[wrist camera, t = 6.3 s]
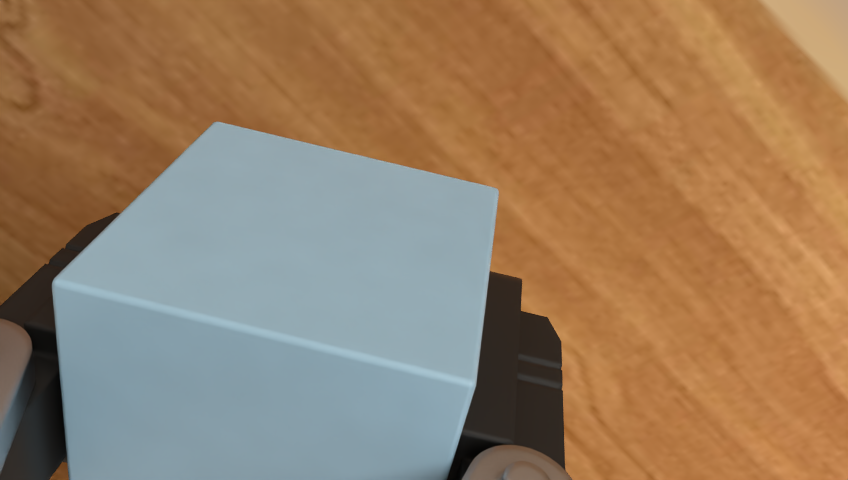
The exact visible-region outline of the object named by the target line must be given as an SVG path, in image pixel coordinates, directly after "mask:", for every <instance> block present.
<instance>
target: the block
mask: <svg viewBox="0 0 848 480" xmlns="http://www.w3.org/2000/svg"><path fill="white" fill-rule="evenodd" d="M498 196H499V192H498V189H496V188H494V187H490V186H485V185H481V184H477V183H473V182H469V181H465V180H460V179H456V178H452V177H448V176H444V175H439V174H435V173H431V172H427V171H423V170H418V169H414V168H410V167H406V166H402V165H398V164H393V163H389V162H385V161H381V160H377V159H372V158H368V157H364V156H360V155H356V154H351V153H347V152H343V151H339V150H335V149H331V148H326V147H322V146H318V145H314V144H310V143H305V142H301V141H297V140H293V139H289V138H284V137H280V136H276V135H272V134H268V133H264V132H259V131H255V130H251V129H247V128H243V127H238V126H234V125H230V124H226V123H222V122H214V123H213V124H212V125H211V126H210V127H209V128H208V129H207V130H206V131H205V132H204V133H203V134H202V135H201V136H199V137H198V138H197V139H196V140H195V141H194V142H193V143H192V144H191V145H190V146H189V147H188V148H187V149H186V150H185V151H184V152H183V153H182V154H181V155H180V156H179V157H178V158H177V159H176V160H175V161H174V162H173V163H172V164H171V165H170V166H169V167H168V168H167V169H166V170H165V171H164V172H163V173H162V174H161V175H160V176H158V177H157V178H156V179H155V180H154V181H153V182H152V183H151V184H150V185H149V186H148V187H147V188H146V189H145V190H144V191H143V192H142V193H141V194H140V195H139V196H138V197H137V198H136V199H135V200H134V201H133V202H132V203H131V204H130V205H129V206H128V207H127V208H126V209H125V210H124V211H123V212H122V213H121V214H120V215H119V216H117V217H116V218H115V219H114V220H113V221H112V222H111V223H110V224H109V225H108V226H107V227H106V228H105V229H104V230H103V231H102V232H101V233H100V234H99V235H98V236H97V237H96V238H95V239H94V240H93V241H92V242H91V243H90V244H89V245H88V246H87V247H86V248H85V249H84V250H83V251H82V252H81V253H80V254H79V255H78V256H76V257H75V258H74V259H73V260H72V261H71V262H70V263H69V264H68V265H67V266H66V267H65V268H64V269H63V270H62V271H61V272H60V273H59V274H58V275H57V276H56V277H55V278H54V280H53V282H52V294H53V306H54V317H55V328H56V339H57V351H58V362H59V373H60V384H61V396H62V407H63V418H64V429H65V441H66V452H67V463H68V474H69V480H447V478H448V475H449V471H450V468H451V465H452V462H453V459H454V455H455V452H456V449H457V446H458V442H459V439H460V436H461V433H462V429H463V426H464V423H465V420H466V417H467V413H468V410H469V407H470V404H471V400H472V397H473V394H474V391H475V387H476V382H477V374H478V365H479V357H480V349H481V340H482V332H483V323H484V315H485V306H486V298H487V289H488V281H489V272H490V264H491V256H492V247H493V239H494V230H495V222H496V213H497V205H498Z"/></svg>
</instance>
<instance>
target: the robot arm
mask: <svg viewBox="0 0 848 480" xmlns="http://www.w3.org/2000/svg"><path fill="white" fill-rule="evenodd" d="M119 215H120V214H119V213H114V214H112V215H110V216H108V217H105V218H103V219H101V220H98V221H96V222H94V223H91V224H89V225H87V226H85V227H84V228H83V229H82V230H81V231H80V232H79V233H78V234H77V235H76V236H75V237H74V238H73V239H71V240H70V241H69V242H68V243H67V244H66V248H65V249H64V248H62V249H61V250H60V251H59V252H58V253H56V254H55V255H54V256H53V257H52V258H51V259H50V262H49V264H45V265H44V266H43V267H41V268H40V269H39V270H38V271H37V272H36V273H35V274H34V275H33V276H32V277H31V278H30V279H29V280H28V281H26V282H25V283H24V284H23V285H22V286H21V287H20V288H19V289H18V290H17V291H16V292H15V293H14V294H12V295H11V296H10V297H9V298H8V299H7V300H6V301H5V302H4V303H3V304H2V305H1V306H0V480H49V479H50V478H51V476H52V475H53V473H54V472H55V471H56V469H57V468H58V467H59V465H60V464H61V462H66V463H67V452H66V441H65V429H64V418H63V407H62V396H61V384H60V373H59V362H58V351H57V339H56V328H55V317H54V306H53V294H52V282H53V280H54V278H55V277H56V276H57V275H58V274H59V273H60V272H61V271H62V270H63V269H64V268H65V267H66V266H67V265H68V264H69V263H70V262H71V261H72V260H73V259H74V258H75V257H76V256H78V255H79V254H80V253H81V252H82V251H83V250H84V249H85V248H86V247H87V246H88V245H89V244H90V243H91V242H92V241H93V240H94V239H95V238H96V237H97V236H98V235H99V234H100V233H101V232H102V231H103V230H104V229H105V228H106V227H107V226H108V225H109V224H110V223H111V222H112V221H113V220H114V219H115V218H116V217H117V216H119ZM521 292H522V279H520V278H516V277H512V276H508V275H504V274H499V273H495V272H491V271H490V272H489V281H488V289H487V298H486V306H485V315H484V323H483V332H482V340H481V349H480V357H479V365H478V374H477V382H476V387H475V391H474V394H473V397H472V400H471V404H470V407H469V410H468V413H467V417H466V420H465V423H464V426H463V429H462V433H461V436H460V439H459V442H458V446H457V449H456V452H455V455H454V459H453V462H452V465H451V468H450V471H449V475H448V478H447V480H572V478H571V477H570V476H569V475H568V473H567V472H566V470H565V455H564V421H563V390H561V389H562V370H561V367H562V352H561V340H560V339H559V337H558V335H557V333H556V332H555V330H554V328H553V326H552V325H551V323H550V321H549V319H548V318H547V317H543V316H539V315H535V314H531V313H527V312H523V311H521Z"/></svg>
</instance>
